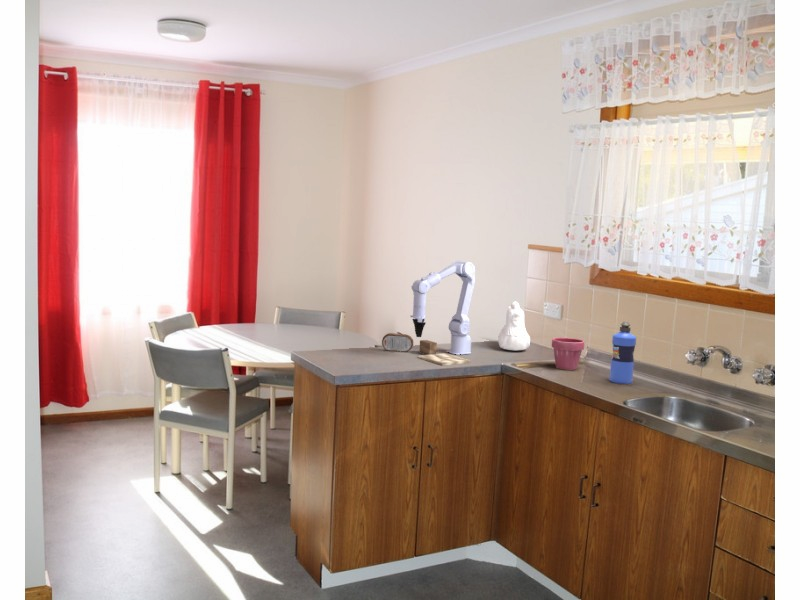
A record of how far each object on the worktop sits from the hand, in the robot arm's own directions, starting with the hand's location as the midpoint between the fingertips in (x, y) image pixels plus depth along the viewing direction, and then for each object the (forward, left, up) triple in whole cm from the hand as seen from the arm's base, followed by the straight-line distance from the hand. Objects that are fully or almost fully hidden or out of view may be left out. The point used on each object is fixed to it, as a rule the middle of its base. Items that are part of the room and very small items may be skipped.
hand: (418, 335), depth 330 cm
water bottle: (-49, +76, -10) cm, 91 cm away
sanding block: (-8, -3, -10) cm, 13 cm away
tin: (+2, -14, -10) cm, 17 cm away
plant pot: (-48, +47, -10) cm, 68 cm away
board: (-6, +12, -10) cm, 17 cm away
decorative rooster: (-58, +3, -10) cm, 59 cm away
